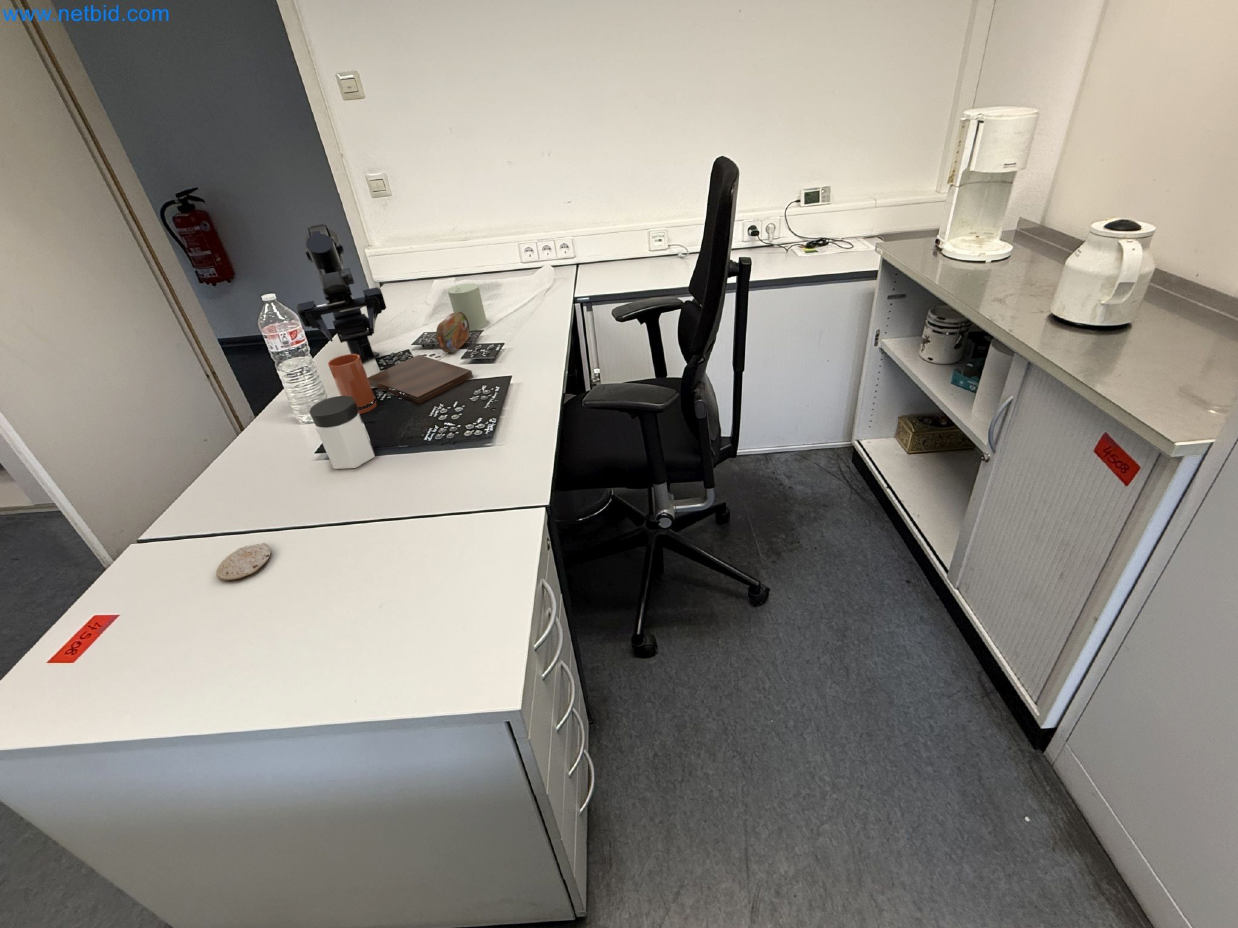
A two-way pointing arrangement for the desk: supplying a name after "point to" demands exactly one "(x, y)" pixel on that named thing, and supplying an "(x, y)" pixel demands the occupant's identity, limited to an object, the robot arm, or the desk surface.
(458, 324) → the tin
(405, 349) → the desk surface
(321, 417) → the jar
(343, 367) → the pen cup
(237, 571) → the flatbread
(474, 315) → the can
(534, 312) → the desk surface
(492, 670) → the desk surface
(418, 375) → the board
